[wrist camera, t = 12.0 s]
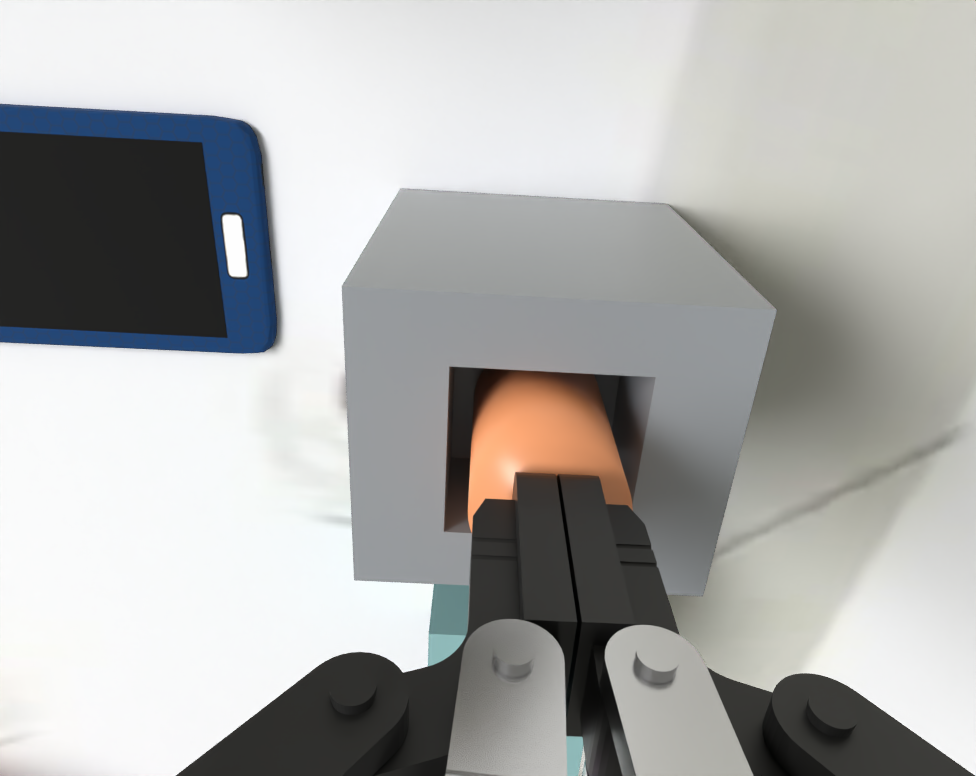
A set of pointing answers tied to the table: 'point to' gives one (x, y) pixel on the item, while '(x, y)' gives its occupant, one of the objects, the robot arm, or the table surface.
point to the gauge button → (540, 433)
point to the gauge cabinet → (542, 365)
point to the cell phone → (133, 231)
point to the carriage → (450, 634)
